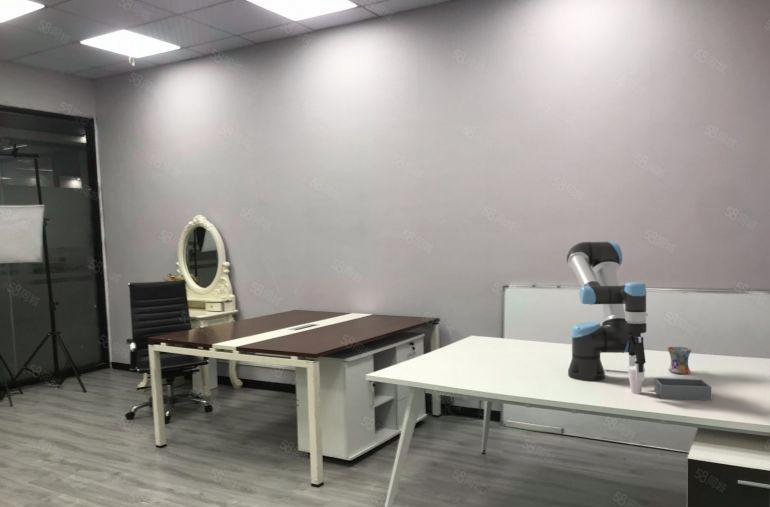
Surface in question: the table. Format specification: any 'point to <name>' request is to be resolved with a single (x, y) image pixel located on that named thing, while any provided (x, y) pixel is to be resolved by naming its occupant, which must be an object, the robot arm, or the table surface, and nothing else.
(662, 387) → the tray
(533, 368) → the table surface
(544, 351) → the table surface
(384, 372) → the table surface
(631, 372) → the smoothie
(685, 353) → the mug
